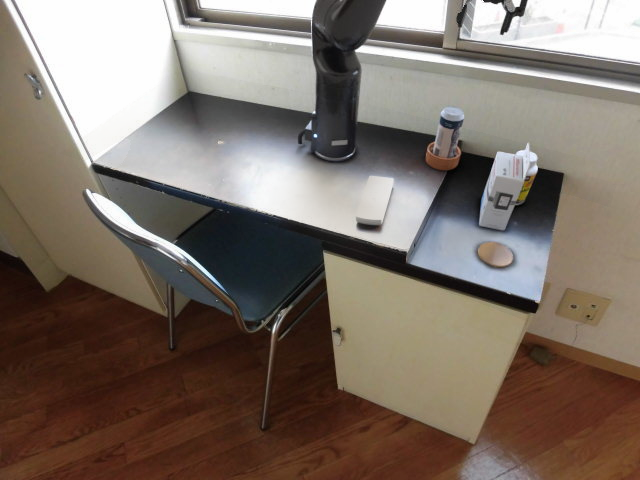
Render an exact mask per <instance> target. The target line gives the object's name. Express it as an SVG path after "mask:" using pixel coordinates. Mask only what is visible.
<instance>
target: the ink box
mask: <svg viewBox="0 0 640 480" xmlns="http://www.w3.org/2000/svg"><path fill="white" fill-rule="evenodd" d="M524 150H525V152H524V155H523V156H520V155H516V153H515V154H514V153H509V152H504V151H497V152H496V155H495V158H494V161H493V164H492V167H491V169H490V170H491V171H490V173H489V176H488V178H487V181H486V184H485V187H484V189H483V193H482V197H481V200H480V209H479V222H478V226H479V227H483V228H487V229H488V228H489V229H492V230H498V231H505V230H506V228H507V225H508V223H509V220H510V218H511V216H512V212H513V211H514V208H515V206H516V205H515V203H516V201H517V198H518V196H519V193H520V191H521V188H522V186H523V183H524V180H525V178H526V175H527V173H528V171H529V168H530V151H531V148H530V142H527V144H526V147H525V149H524ZM526 158H527V163H526Z"/></svg>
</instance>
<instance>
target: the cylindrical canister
mask: <svg viewBox="0 0 640 480" xmlns="http://www.w3.org/2000/svg"><path fill="white" fill-rule="evenodd" d="M464 120H465V113H464V110H463V109H461V108H460V107H459V106H454V105H451V106H450V105H448V106H446V107H444V108H443V110H442V111H441V112H440V116H439V123H438V127H437V131H436V135H435V140H434V142H435V144H434V148H433V153H432V154H434V155H435V156H438V157H441V158H454V155H455V151H456V147H458V143H459V138H460V135H461V131H462V128H463V123H464Z"/></svg>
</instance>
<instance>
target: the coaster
mask: <svg viewBox="0 0 640 480" xmlns="http://www.w3.org/2000/svg"><path fill="white" fill-rule="evenodd" d="M477 255H478V257H479V259H480V260H481V261H482V262H483V263H485V264H486V265H489V266H491V267H493V268H494V267H495V268H506V267H508V266H510V265H511V264H512V262H513V261H514V255H513V252H512V251H511V250H510V249H509V247H507V246H506V245H504V244H502V243H499V242H495V241H487V242H483V243H482V244H480V246H479V247H478V249H477Z"/></svg>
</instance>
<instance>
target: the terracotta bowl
mask: <svg viewBox="0 0 640 480" xmlns="http://www.w3.org/2000/svg"><path fill="white" fill-rule="evenodd" d="M434 144H435V141H433V142H430V143H429V144H428V145H427V147H426V148H427V149H426V153H425V158H424V159H425V163H426V164H427V165H428V166H430V167H431V168H432V169H435V170H438V171H451V170H454V169H455V168H457V166H458V165H459V162H460V159H461V155H462V150H461V148H460V147H459V146H457V147H456V151H455V155H454V158H441V157H438V156H435V155H434V154H432V153H433V148H434Z"/></svg>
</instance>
